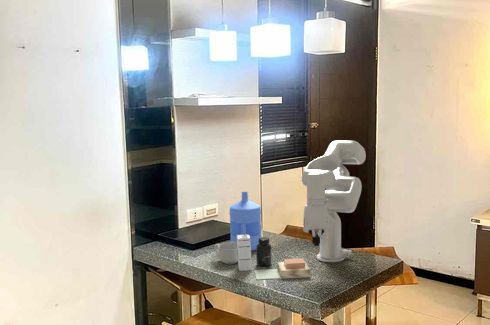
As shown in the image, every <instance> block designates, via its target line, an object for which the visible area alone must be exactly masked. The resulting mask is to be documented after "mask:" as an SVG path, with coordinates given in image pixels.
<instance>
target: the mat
mask: <svg viewBox="0 0 490 325" xmlns="http://www.w3.org/2000/svg"><path fill="white" fill-rule="evenodd" d="M253 271H254V272H253V273H254V276H255V279H256V281H259V280H260V281H261V280H262V281H263V280H279V279H281V280H282V279H283V278H281V276H280V274H279V271H278V268H273V269H272V268H271V269H255V270H254V269H253ZM297 278H299V279H300V278H302V279H303V277H288V278H287V279H297ZM307 278H311V275H310V276H308V277H307Z"/></svg>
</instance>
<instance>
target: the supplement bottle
mask: <svg viewBox="0 0 490 325" xmlns="http://www.w3.org/2000/svg"><path fill="white" fill-rule="evenodd" d="M258 243H259V244H258V245H257V246H256V250H255V252H256V253H255V255H256V256H255V258H256V259H255V262H256V265H257V266H258V267H260V268H261V267H263V268H265V267H266V268H267V267H270V266H271V265H272V264H273V263H272V261H273V260H272V254H273V253H272V252H273V250H272V245H271V243H270V238H269V237H266V236H263V237H262V236H261V238H259V241H258Z"/></svg>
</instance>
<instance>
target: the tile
mask: <svg viewBox="0 0 490 325" xmlns="http://www.w3.org/2000/svg"><path fill="white" fill-rule="evenodd" d="M304 261H305V260H304V258H303V257H301V258H300V257H299V258H286V259H285V258H284V259H283V262H284V265H285V267H286V268H305V262H306V261H305V262H304Z"/></svg>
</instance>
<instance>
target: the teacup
mask: <svg viewBox="0 0 490 325" xmlns="http://www.w3.org/2000/svg"><path fill="white" fill-rule="evenodd" d="M213 249H214V251H215V253H216V254H217V255H218V258H219V260H220V261H221V262H222V263H223V264H225V265H234V264H238V251H237V242H231V241H227V242H222V243H215V244H214V246H213Z"/></svg>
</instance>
